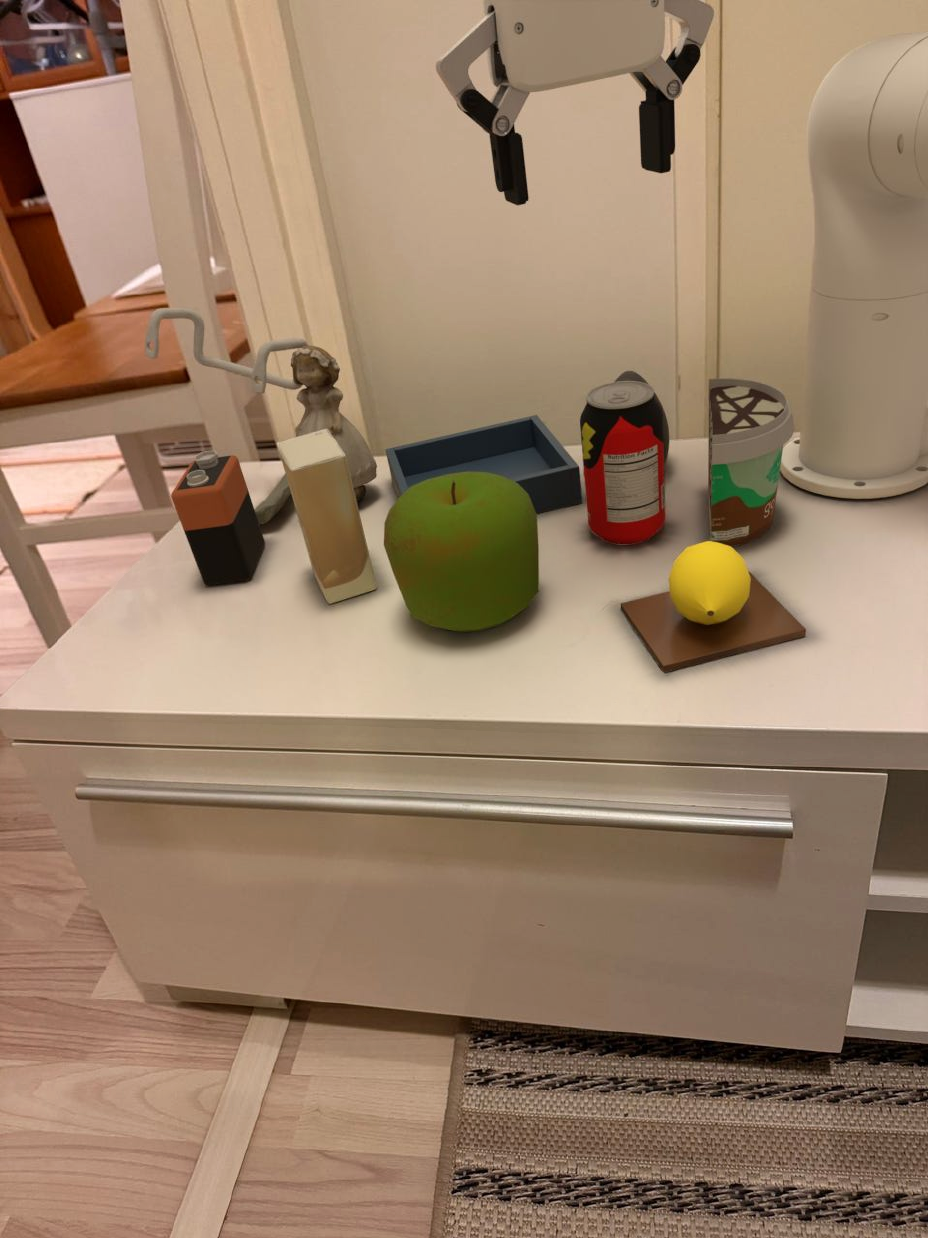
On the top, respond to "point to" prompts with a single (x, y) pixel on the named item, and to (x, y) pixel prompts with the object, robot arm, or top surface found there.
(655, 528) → the beverage can
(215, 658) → the top surface
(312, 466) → the cosmetic box
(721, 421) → the brown and cream wedge
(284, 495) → the stone
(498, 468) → the bin
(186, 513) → the battery
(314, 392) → the figurine
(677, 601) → the lemon
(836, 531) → the top surface
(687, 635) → the placemat
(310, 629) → the top surface
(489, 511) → the apple
